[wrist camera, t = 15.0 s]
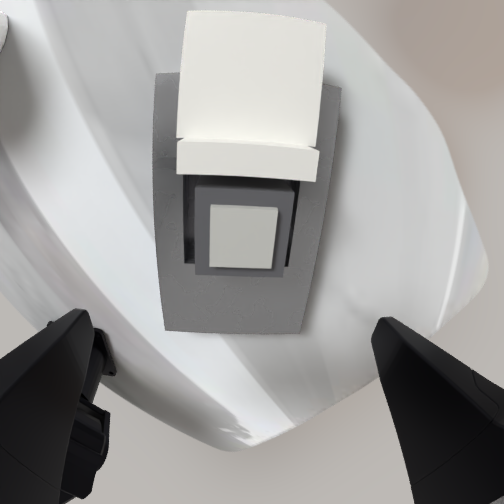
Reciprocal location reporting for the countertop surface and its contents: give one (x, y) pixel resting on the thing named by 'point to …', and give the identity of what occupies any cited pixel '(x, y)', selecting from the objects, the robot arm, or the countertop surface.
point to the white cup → (3, 28)
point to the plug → (242, 225)
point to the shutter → (250, 95)
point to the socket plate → (183, 237)
